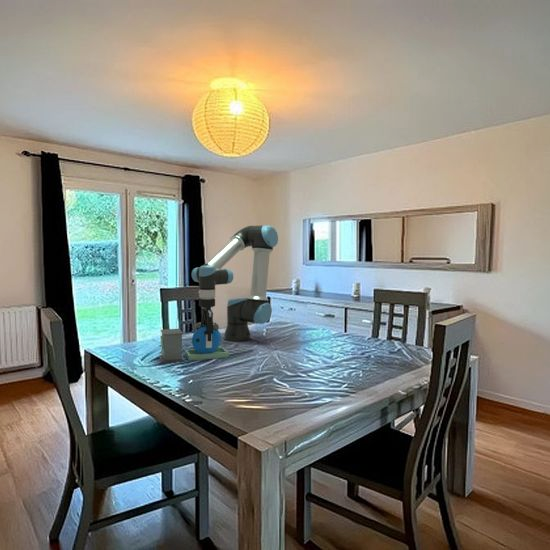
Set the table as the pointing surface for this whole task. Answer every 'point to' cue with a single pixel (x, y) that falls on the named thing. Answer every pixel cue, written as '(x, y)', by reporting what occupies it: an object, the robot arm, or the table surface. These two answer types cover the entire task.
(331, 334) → the table surface
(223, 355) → the green tray
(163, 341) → the box
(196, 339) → the alarm clock
